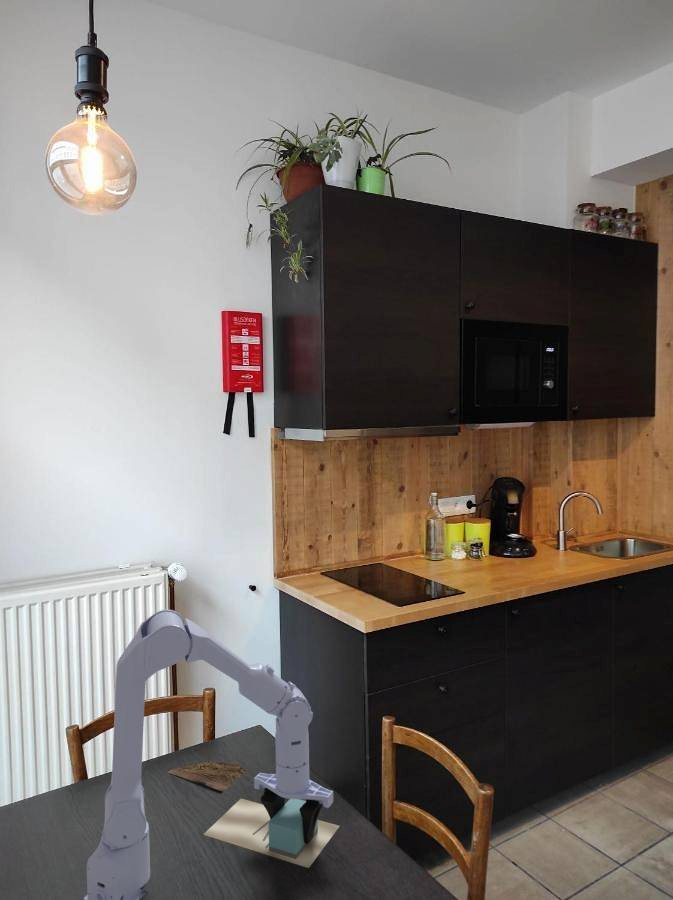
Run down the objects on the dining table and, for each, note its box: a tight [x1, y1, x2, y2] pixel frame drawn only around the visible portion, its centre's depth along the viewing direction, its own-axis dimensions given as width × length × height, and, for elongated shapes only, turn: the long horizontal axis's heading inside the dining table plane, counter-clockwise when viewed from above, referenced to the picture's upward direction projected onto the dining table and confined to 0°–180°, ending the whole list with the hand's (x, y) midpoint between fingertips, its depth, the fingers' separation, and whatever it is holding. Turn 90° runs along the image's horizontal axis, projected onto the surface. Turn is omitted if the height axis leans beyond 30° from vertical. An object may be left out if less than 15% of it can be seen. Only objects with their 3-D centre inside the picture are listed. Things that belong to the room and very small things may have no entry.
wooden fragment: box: [167, 761, 249, 793], centre depth 138 cm, size 26×11×1 cm, turn 72°
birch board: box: [202, 798, 341, 869], centre depth 119 cm, size 12×21×2 cm, turn 65°
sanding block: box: [268, 799, 319, 859], centre depth 115 cm, size 8×5×5 cm, turn 155°
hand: (293, 835), depth 115 cm, fingers closed on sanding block, 5 cm apart
